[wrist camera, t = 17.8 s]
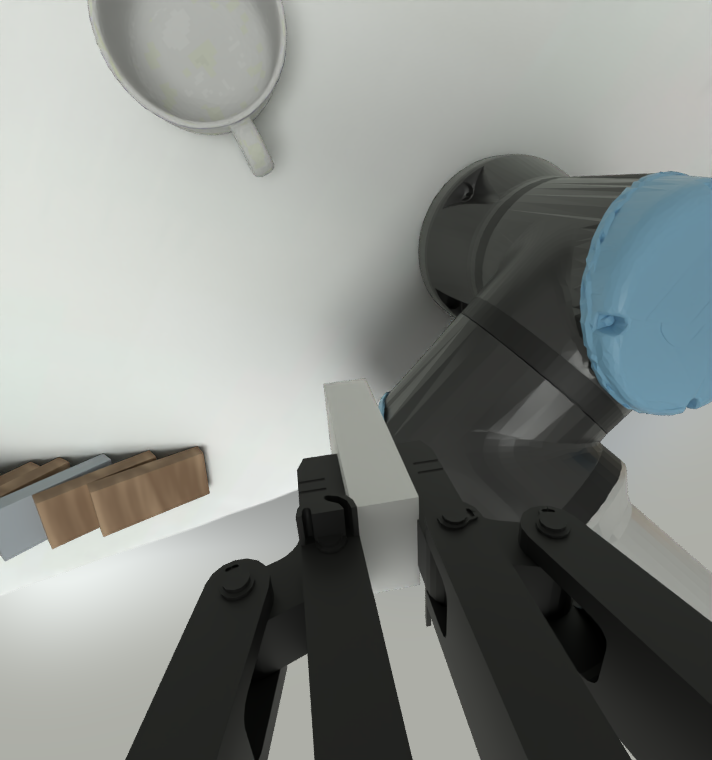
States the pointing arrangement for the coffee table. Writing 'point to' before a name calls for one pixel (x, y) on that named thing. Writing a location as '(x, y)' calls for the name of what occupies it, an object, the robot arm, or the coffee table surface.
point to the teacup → (197, 62)
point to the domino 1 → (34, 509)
